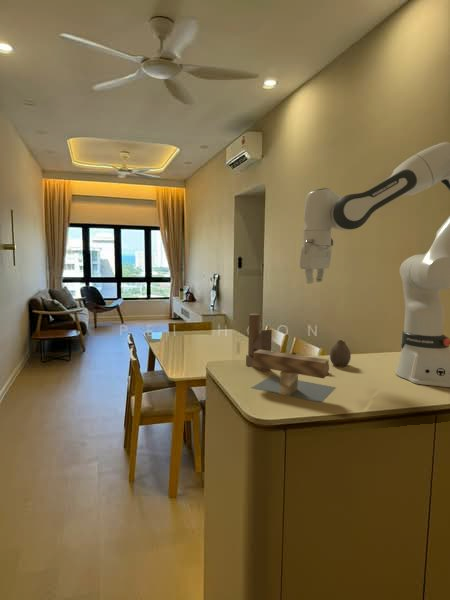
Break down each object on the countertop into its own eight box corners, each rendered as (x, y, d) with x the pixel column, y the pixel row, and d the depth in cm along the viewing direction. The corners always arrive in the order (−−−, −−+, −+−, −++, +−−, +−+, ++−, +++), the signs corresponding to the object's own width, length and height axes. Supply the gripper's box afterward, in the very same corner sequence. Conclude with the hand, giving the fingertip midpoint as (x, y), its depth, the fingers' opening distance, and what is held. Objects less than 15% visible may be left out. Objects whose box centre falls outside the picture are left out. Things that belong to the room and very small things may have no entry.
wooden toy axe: (261, 373, 127) (262, 318, 125) (245, 365, 136) (246, 313, 134) (270, 372, 128) (272, 317, 126) (254, 364, 138) (256, 313, 136)
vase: (328, 366, 136) (329, 341, 135) (331, 361, 143) (332, 338, 142) (349, 369, 134) (350, 343, 133) (351, 364, 140) (352, 339, 139)
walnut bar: (328, 374, 104) (328, 359, 104) (323, 378, 101) (324, 363, 100) (259, 362, 114) (259, 349, 114) (253, 366, 111) (253, 352, 110)
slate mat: (336, 390, 112) (336, 387, 112) (320, 405, 101) (321, 402, 100) (271, 377, 123) (271, 375, 123) (251, 390, 111) (251, 387, 111)
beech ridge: (297, 389, 110) (298, 368, 109) (289, 395, 105) (290, 373, 104) (288, 387, 111) (288, 366, 111) (279, 393, 106) (280, 372, 106)
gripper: (315, 238, 118) (313, 285, 119) (334, 241, 135) (332, 281, 137) (295, 238, 121) (294, 283, 123) (316, 241, 138) (315, 280, 140)
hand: (314, 282), depth 130 cm, fingers open, 8 cm apart
